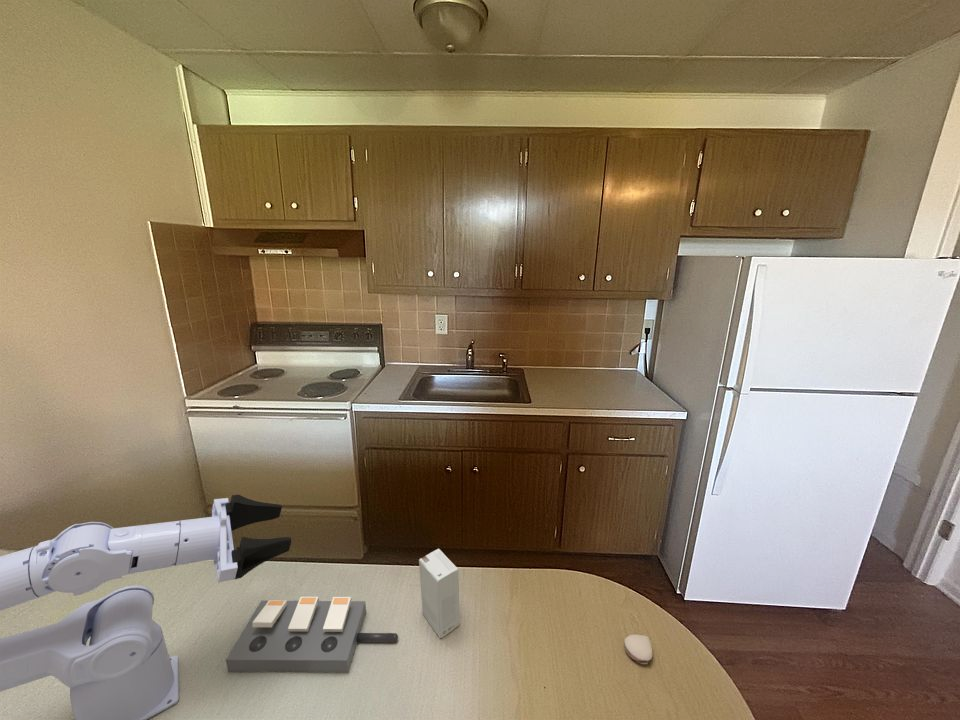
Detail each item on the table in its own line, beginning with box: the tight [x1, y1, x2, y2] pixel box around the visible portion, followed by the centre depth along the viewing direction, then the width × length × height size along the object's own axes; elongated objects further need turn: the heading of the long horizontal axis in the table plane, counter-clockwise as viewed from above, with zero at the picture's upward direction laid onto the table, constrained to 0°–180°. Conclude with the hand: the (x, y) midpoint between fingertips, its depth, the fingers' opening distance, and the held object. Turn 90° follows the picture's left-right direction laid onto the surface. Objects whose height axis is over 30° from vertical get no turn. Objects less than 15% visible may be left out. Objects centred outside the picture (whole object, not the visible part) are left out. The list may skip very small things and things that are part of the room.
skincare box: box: [418, 548, 461, 639], centre depth 65 cm, size 6×4×12 cm
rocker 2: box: [323, 596, 352, 632], centre depth 63 cm, size 3×5×1 cm, turn 1°
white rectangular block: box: [252, 599, 288, 627], centre depth 63 cm, size 3×5×1 cm, turn 1°
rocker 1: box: [288, 596, 320, 632], centre depth 63 cm, size 3×5×1 cm, turn 1°
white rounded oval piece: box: [623, 633, 653, 665], centre depth 62 cm, size 4×5×2 cm
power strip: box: [225, 599, 399, 674], centre depth 63 cm, size 25×10×3 cm, turn 91°
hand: (284, 526), depth 61 cm, fingers open, 7 cm apart
